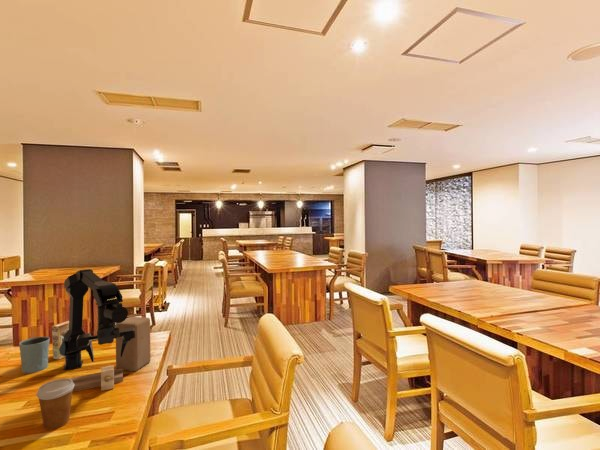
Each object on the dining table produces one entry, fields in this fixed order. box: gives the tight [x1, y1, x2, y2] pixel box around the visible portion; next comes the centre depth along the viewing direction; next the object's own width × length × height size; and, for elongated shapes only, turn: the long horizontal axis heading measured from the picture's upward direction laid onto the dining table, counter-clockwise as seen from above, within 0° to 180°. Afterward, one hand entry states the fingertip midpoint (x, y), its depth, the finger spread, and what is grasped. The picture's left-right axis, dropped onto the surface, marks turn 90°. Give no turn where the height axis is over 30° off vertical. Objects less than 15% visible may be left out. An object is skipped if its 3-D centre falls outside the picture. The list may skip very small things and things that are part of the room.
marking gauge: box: [100, 365, 115, 392], centre depth 127 cm, size 13×4×7 cm, turn 28°
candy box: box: [51, 319, 69, 360], centre depth 153 cm, size 9×4×15 cm, turn 164°
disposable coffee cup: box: [35, 377, 75, 430], centre depth 103 cm, size 10×10×12 cm
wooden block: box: [115, 316, 152, 372], centre depth 142 cm, size 10×10×20 cm
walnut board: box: [67, 368, 124, 393], centre depth 127 cm, size 8×23×2 cm, turn 118°
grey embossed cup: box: [18, 336, 51, 374], centre depth 140 cm, size 10×10×12 cm
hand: (107, 359), depth 124 cm, fingers open, 9 cm apart
